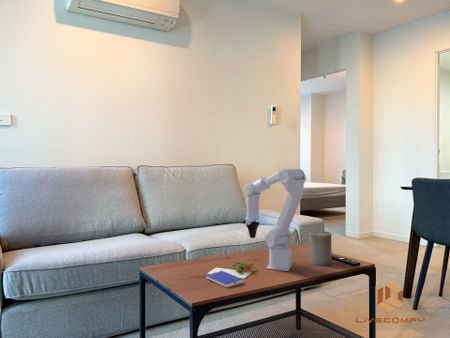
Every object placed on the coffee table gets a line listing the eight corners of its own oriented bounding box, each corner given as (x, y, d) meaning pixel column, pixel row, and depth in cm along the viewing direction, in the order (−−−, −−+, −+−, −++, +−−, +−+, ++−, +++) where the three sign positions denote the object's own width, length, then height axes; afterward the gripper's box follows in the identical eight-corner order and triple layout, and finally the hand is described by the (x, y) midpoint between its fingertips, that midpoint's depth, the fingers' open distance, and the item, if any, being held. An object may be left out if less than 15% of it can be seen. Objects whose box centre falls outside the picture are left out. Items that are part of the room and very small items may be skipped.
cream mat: (251, 272, 150) (251, 271, 150) (244, 279, 141) (244, 278, 141) (216, 268, 156) (216, 267, 156) (207, 274, 147) (207, 273, 147)
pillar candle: (327, 260, 170) (327, 228, 170) (334, 265, 160) (334, 231, 160) (307, 260, 170) (306, 228, 169) (312, 266, 160) (312, 232, 160)
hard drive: (206, 274, 141) (226, 283, 131) (222, 270, 146) (243, 278, 136) (206, 278, 141) (226, 287, 131) (222, 274, 146) (243, 282, 136)
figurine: (228, 266, 149) (244, 269, 144) (245, 258, 158) (260, 261, 153) (228, 273, 149) (244, 277, 144) (245, 265, 158) (261, 268, 153)
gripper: (249, 206, 178) (249, 234, 178) (239, 210, 164) (239, 239, 165) (263, 207, 175) (263, 235, 175) (254, 210, 162) (253, 241, 162)
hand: (252, 237), depth 170 cm, fingers closed
